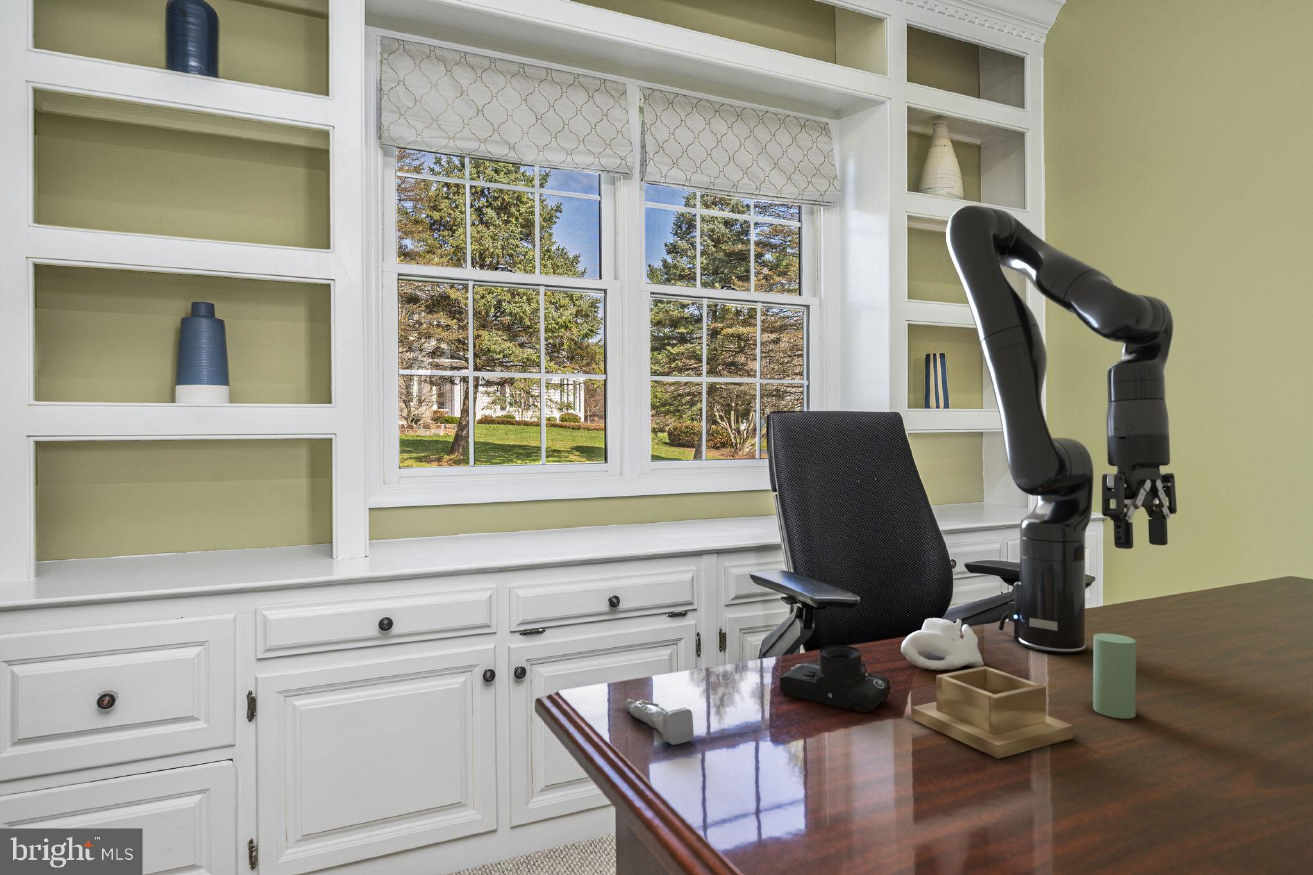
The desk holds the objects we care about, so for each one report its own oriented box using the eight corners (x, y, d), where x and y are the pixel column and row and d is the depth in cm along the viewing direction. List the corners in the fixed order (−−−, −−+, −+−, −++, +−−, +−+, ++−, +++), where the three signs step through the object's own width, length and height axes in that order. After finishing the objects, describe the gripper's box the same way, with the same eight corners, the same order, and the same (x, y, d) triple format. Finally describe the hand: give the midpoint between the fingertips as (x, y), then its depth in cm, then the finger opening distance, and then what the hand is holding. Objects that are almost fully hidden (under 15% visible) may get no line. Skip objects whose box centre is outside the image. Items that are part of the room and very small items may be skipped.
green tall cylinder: (1085, 708, 92) (1085, 635, 92) (1107, 703, 94) (1107, 631, 94) (1120, 721, 88) (1121, 644, 88) (1143, 715, 90) (1144, 640, 90)
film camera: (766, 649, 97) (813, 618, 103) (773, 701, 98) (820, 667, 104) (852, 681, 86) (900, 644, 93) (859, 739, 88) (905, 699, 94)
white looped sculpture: (899, 671, 106) (889, 615, 111) (948, 689, 113) (937, 635, 117) (953, 656, 101) (940, 597, 106) (1001, 675, 107) (987, 619, 112)
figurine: (669, 747, 80) (666, 714, 80) (617, 722, 90) (614, 692, 91) (695, 739, 82) (692, 706, 82) (642, 715, 92) (639, 686, 92)
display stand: (911, 719, 88) (911, 672, 88) (982, 703, 93) (983, 659, 93) (998, 759, 77) (998, 706, 77) (1073, 738, 83) (1073, 689, 83)
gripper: (1138, 434, 113) (1142, 542, 113) (1081, 433, 107) (1085, 547, 106) (1193, 432, 107) (1197, 546, 106) (1135, 430, 100) (1140, 552, 99)
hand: (1141, 546), depth 106 cm, fingers open, 8 cm apart
